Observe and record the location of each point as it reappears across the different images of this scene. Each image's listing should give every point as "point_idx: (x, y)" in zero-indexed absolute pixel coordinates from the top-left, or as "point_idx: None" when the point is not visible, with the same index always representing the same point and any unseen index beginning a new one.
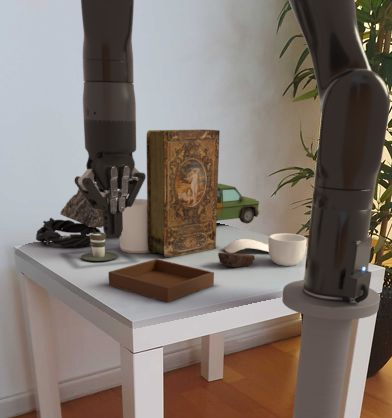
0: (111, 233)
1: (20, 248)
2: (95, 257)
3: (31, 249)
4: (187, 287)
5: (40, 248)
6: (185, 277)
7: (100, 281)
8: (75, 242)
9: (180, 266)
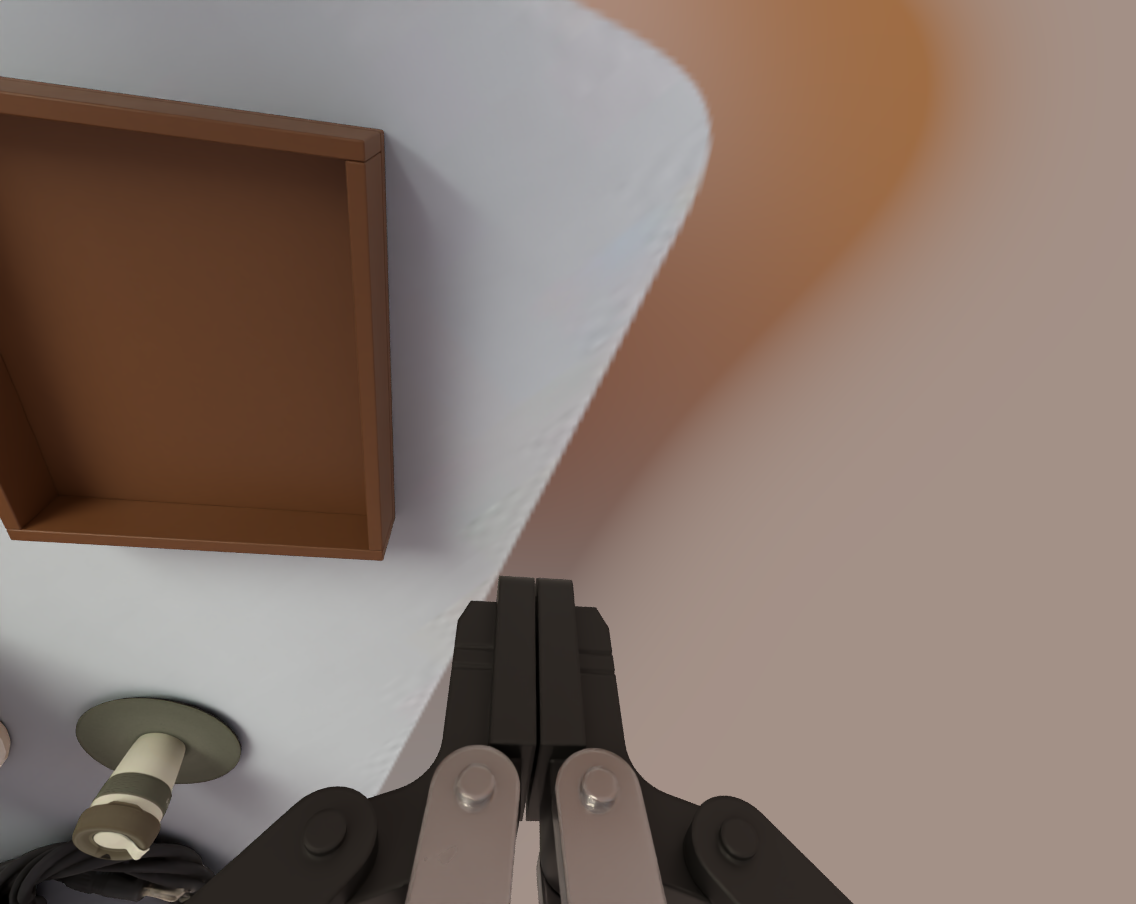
0: (587, 611)
1: None
2: (186, 742)
3: None
4: (167, 106)
5: None
6: None
7: (379, 570)
8: (150, 857)
9: None
